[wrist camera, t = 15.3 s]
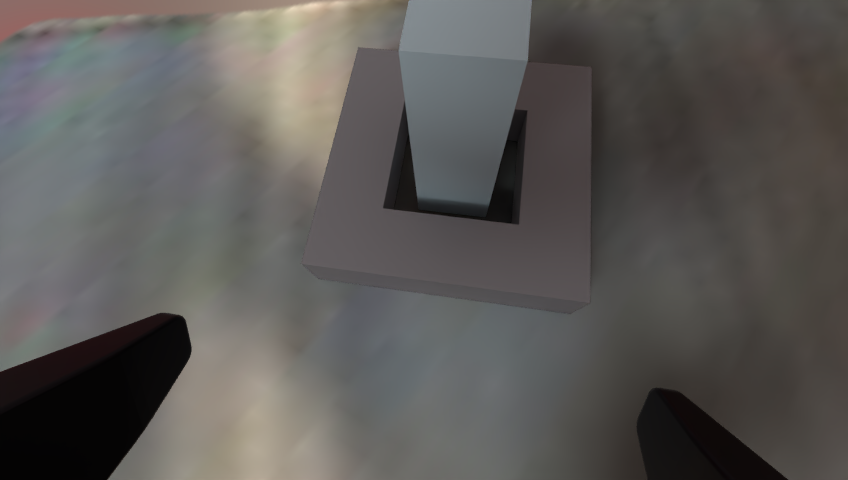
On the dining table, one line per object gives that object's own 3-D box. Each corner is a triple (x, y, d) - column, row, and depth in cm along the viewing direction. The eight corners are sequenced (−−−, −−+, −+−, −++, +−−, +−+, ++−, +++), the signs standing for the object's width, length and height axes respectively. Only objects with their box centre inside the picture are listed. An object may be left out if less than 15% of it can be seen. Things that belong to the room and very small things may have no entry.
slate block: (485, 217, 23) (527, 60, 12) (418, 209, 24) (398, 50, 12) (491, 159, 25) (534, -32, 13) (428, 152, 25) (417, -38, 14)
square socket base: (570, 313, 21) (590, 303, 18) (318, 278, 22) (300, 263, 20) (575, 101, 26) (591, 66, 23) (366, 82, 27) (358, 47, 24)
